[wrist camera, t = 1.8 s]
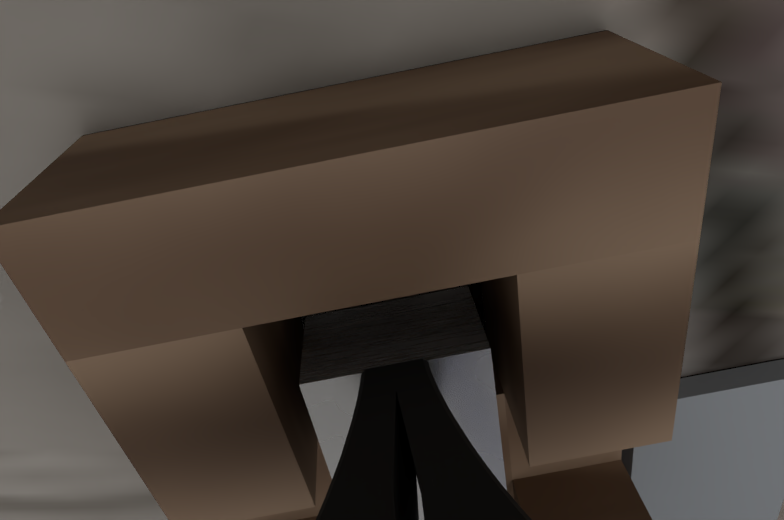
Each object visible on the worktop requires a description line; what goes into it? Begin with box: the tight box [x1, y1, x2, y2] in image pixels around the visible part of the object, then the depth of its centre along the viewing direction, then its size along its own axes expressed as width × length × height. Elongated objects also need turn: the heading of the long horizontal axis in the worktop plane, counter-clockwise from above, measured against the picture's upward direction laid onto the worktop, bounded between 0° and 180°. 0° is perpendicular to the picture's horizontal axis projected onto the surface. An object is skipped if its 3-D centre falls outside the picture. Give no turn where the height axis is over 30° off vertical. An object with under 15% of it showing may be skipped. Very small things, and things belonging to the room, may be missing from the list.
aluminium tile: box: [299, 286, 507, 520], centre depth 15 cm, size 8×4×2 cm, turn 10°
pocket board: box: [0, 30, 722, 520], centre depth 15 cm, size 17×12×4 cm
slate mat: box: [621, 359, 784, 520], centre depth 21 cm, size 10×6×1 cm, turn 10°
